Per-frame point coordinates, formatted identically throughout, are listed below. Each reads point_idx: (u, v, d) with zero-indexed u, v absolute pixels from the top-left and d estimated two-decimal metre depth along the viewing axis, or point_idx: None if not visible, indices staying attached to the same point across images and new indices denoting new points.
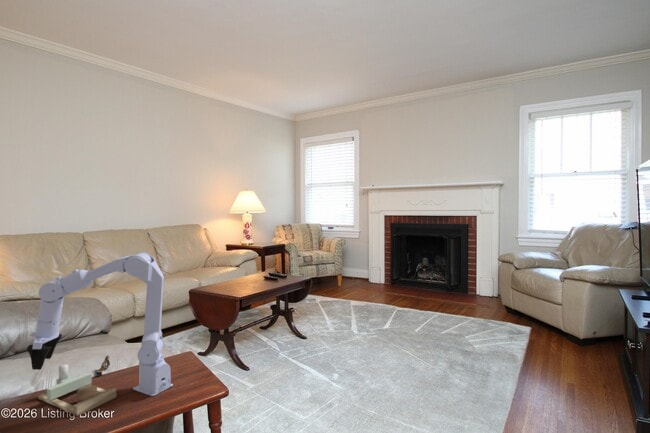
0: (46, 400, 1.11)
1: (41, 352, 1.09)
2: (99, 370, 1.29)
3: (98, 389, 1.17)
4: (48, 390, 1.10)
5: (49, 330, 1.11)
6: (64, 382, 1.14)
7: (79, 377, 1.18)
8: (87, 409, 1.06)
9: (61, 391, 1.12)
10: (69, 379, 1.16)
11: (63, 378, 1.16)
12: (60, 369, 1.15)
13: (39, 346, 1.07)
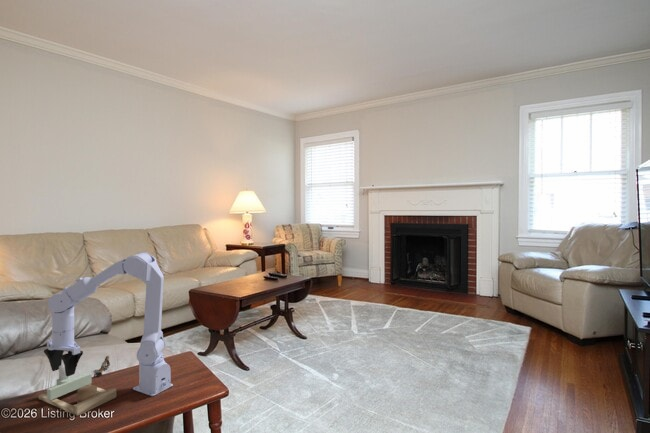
0: (46, 400, 1.11)
1: (73, 358, 1.15)
2: (99, 370, 1.29)
3: (98, 389, 1.17)
4: (48, 390, 1.10)
5: (72, 337, 1.16)
6: (64, 382, 1.14)
7: (79, 377, 1.18)
8: (87, 409, 1.06)
9: (61, 391, 1.12)
10: (69, 379, 1.16)
11: (63, 378, 1.16)
12: (60, 369, 1.15)
13: (79, 350, 1.14)
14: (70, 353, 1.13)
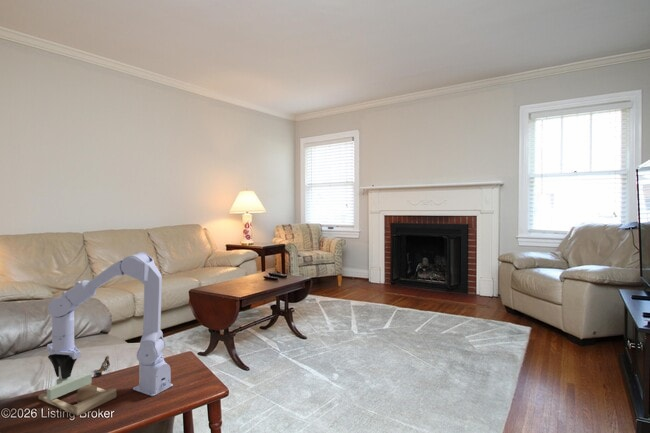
0: (46, 400, 1.11)
1: (69, 360, 1.16)
2: (99, 370, 1.29)
3: (98, 389, 1.17)
4: (48, 390, 1.10)
5: (72, 341, 1.16)
6: (64, 382, 1.14)
7: (79, 377, 1.18)
8: (87, 409, 1.06)
9: (61, 391, 1.12)
10: (69, 379, 1.16)
11: None
12: (60, 369, 1.15)
13: (79, 354, 1.14)
14: (66, 356, 1.14)
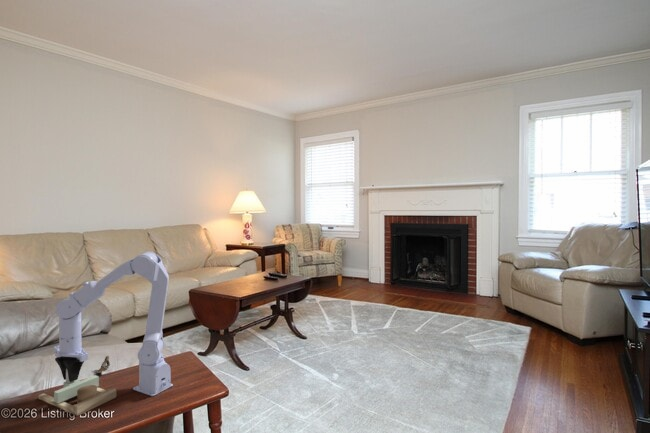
0: (46, 400, 1.11)
1: (76, 363, 1.14)
2: (99, 370, 1.29)
3: (98, 389, 1.17)
4: (55, 393, 1.08)
5: (79, 343, 1.15)
6: (71, 385, 1.12)
7: (86, 380, 1.16)
8: (87, 409, 1.06)
9: (68, 394, 1.10)
10: (76, 382, 1.14)
11: None
12: (67, 372, 1.14)
13: (87, 357, 1.12)
14: (73, 358, 1.13)
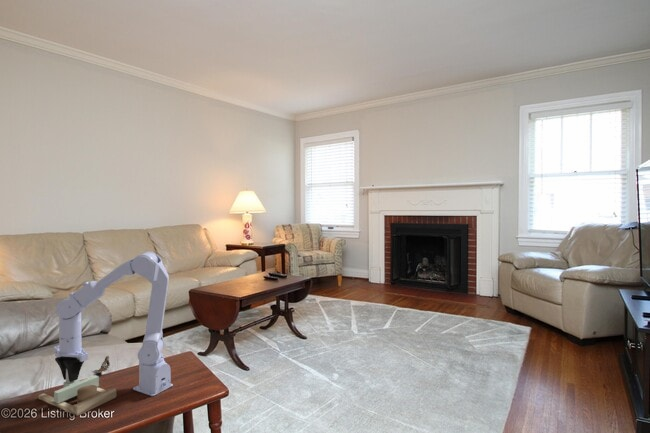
0: (46, 400, 1.11)
1: (76, 363, 1.14)
2: (99, 370, 1.29)
3: (98, 389, 1.17)
4: (55, 393, 1.08)
5: (79, 343, 1.15)
6: (71, 385, 1.12)
7: (86, 380, 1.16)
8: (87, 409, 1.06)
9: (68, 394, 1.10)
10: (76, 382, 1.14)
11: None
12: (67, 372, 1.14)
13: (87, 357, 1.12)
14: (73, 358, 1.13)
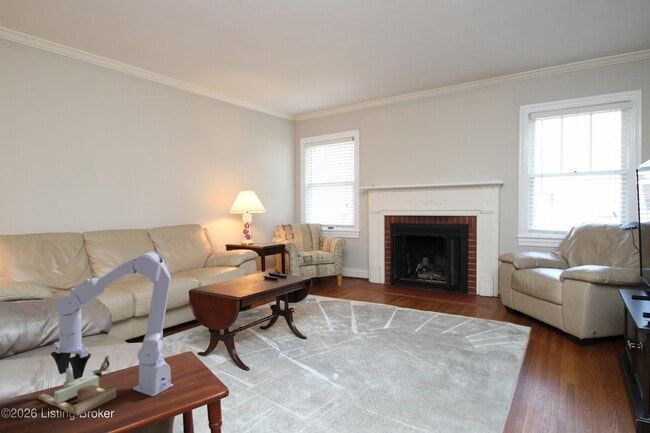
0: (46, 400, 1.11)
1: (81, 360, 1.13)
2: (99, 371, 1.29)
3: (98, 389, 1.17)
4: (55, 393, 1.08)
5: (79, 339, 1.15)
6: (71, 385, 1.12)
7: (86, 380, 1.16)
8: (87, 409, 1.06)
9: (68, 394, 1.10)
10: (76, 382, 1.14)
11: (70, 381, 1.14)
12: (67, 372, 1.14)
13: (87, 353, 1.12)
14: (78, 356, 1.12)
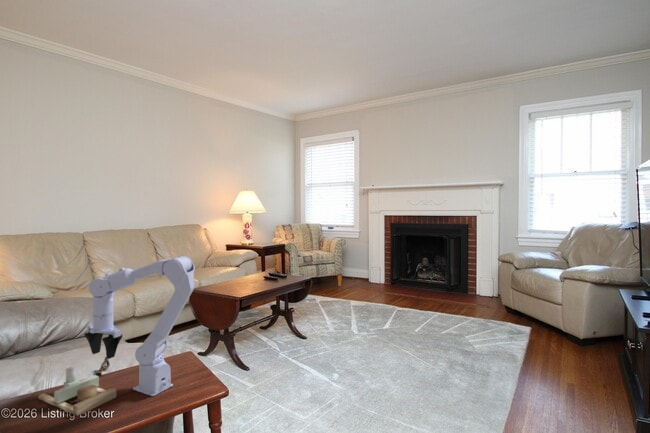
0: (46, 400, 1.11)
1: (113, 341, 1.19)
2: (99, 371, 1.29)
3: (98, 389, 1.17)
4: (55, 393, 1.08)
5: (112, 321, 1.20)
6: (71, 385, 1.12)
7: (86, 380, 1.16)
8: (87, 409, 1.06)
9: (68, 394, 1.10)
10: (76, 382, 1.14)
11: (70, 381, 1.14)
12: (67, 372, 1.14)
13: (119, 333, 1.18)
14: (111, 336, 1.17)
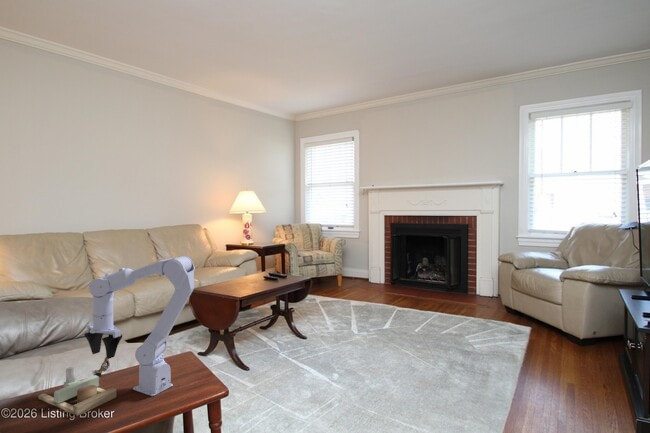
0: (46, 400, 1.11)
1: (113, 341, 1.19)
2: (98, 371, 1.28)
3: (98, 389, 1.17)
4: (55, 393, 1.08)
5: (112, 321, 1.20)
6: (71, 385, 1.12)
7: (86, 380, 1.16)
8: (87, 409, 1.06)
9: (68, 394, 1.10)
10: (76, 382, 1.14)
11: (70, 381, 1.14)
12: (67, 372, 1.14)
13: (119, 333, 1.18)
14: (111, 336, 1.17)
